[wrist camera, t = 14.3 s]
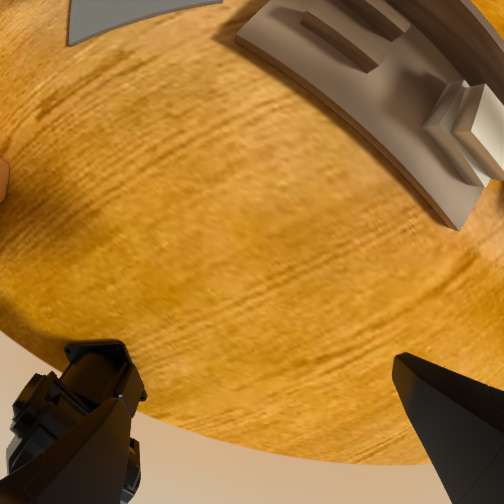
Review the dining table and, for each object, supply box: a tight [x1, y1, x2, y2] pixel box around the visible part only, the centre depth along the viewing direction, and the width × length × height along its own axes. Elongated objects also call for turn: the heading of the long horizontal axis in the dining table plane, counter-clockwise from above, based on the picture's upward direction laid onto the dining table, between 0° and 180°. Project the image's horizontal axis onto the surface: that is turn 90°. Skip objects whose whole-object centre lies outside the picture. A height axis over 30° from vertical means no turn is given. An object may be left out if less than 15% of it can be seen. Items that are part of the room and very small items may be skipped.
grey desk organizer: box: [236, 0, 504, 232], centre depth 14 cm, size 12×22×8 cm, turn 54°
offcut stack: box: [422, 80, 504, 188], centre depth 15 cm, size 6×7×4 cm
